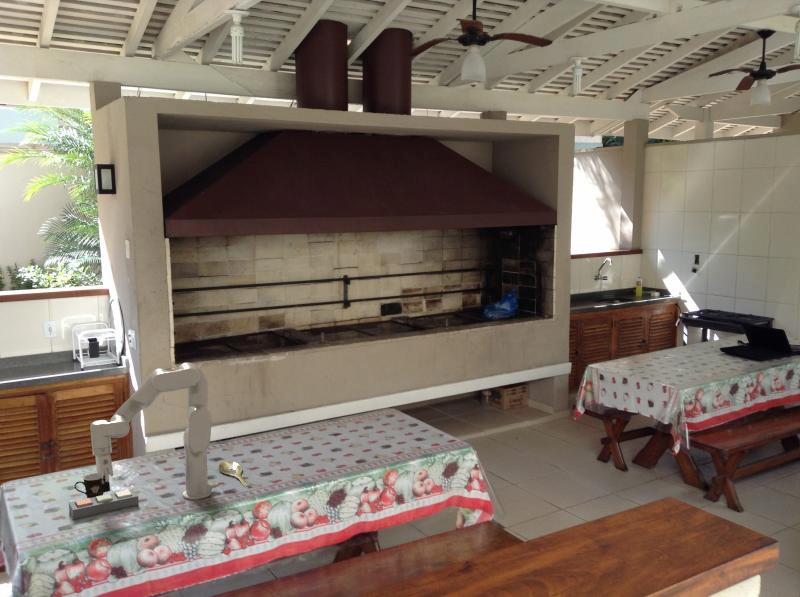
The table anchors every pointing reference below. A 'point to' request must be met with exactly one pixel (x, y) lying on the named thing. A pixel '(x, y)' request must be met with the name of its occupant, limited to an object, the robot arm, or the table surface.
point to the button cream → (123, 494)
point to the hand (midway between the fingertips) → (105, 491)
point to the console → (103, 506)
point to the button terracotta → (83, 502)
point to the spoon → (235, 466)
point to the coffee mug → (91, 485)
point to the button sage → (103, 498)
